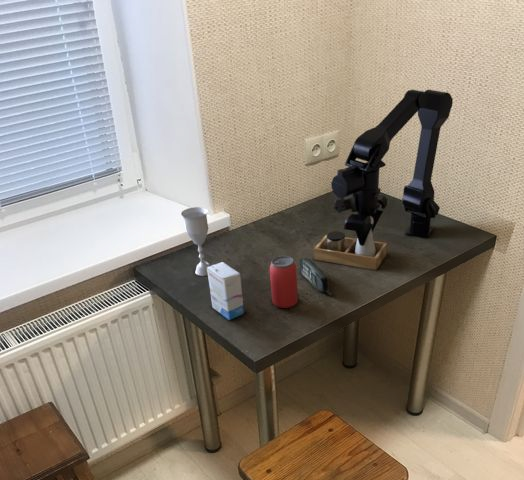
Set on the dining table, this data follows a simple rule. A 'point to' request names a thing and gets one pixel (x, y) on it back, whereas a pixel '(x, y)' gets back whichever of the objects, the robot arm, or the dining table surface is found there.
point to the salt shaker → (366, 245)
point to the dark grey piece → (314, 275)
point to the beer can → (283, 282)
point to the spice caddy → (350, 254)
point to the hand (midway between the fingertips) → (364, 241)
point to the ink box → (225, 290)
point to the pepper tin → (336, 241)
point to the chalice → (197, 233)
